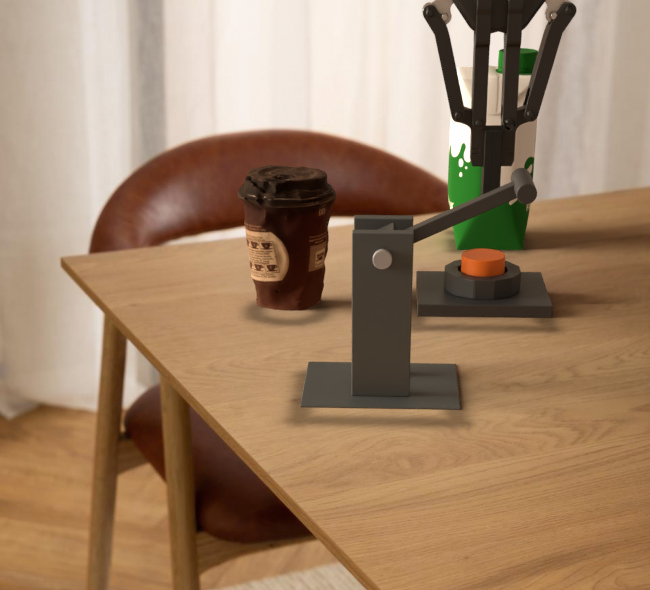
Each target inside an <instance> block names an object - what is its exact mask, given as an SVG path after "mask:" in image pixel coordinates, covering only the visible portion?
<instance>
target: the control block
mask: <svg viewBox="0 0 650 590" xmlns="http://www.w3.org/2000/svg"><path fill="white" fill-rule="evenodd" d="M415 302H416V317H417V318H419V317H420V318H423V317H425V318H426V317H427V318H496V319H497V318H500V319H501V318H504V319H505V318H506V319H552V318H553V308H554V306H553V304H552V300H551V297H550V295H549V292H548V289H547V286H546V283H545V280H544V277H543V274H542V272H541V271H522V270H521V268H520V266H519V265H517V264H516V263H513V262H510V261H508V260H505V271H504V274H503V275H498V276H492V277H480V276H471V275H466V274H464V273H462V272H461V259H457V260H453V261H451V262H449V263H447V264H445V265H444V270H416V271H415Z"/></svg>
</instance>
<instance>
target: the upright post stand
mask: <svg viewBox="0 0 650 590" xmlns="http://www.w3.org/2000/svg"><path fill="white" fill-rule="evenodd" d="M393 222H394V223H395V226H396V228H397V230H377V229H379V228H382V227H384V226H386V225H388V224H391V223H393ZM413 225H414V215H411V214H410V215H409V214H408V215H399V214H395V215H393V214H392V215H391V214H389V215H387V214H355V215H353V229H352V231H351V361H308V362H307V365H306V366H307V367H306V372H305V377H304V382H303V388H302V394H301V399H300V404H299V408H310V409H311V408H314V409H315V408H318V409H320V408H321V409H323V408H324V409H373V410H374V409H377V410H378V409H380V410H382V409H384V410H434V411H435V410H437V411H440V410H441V411H445V410H446V411H447V410H448V411H450V410H451V411H461V400H460V390H459V381H458V380H459V379H458V373H457V372H458V371H457V364H456V363H434V362H433V363H430V362H411V353H412V352H411V351H412V350H411V349H412V317H413V315H412V314H413V313H412V312H413V310H412V309H413V276H414V275H413V274H414V246H415V245H414V244H415V243H414V231H413V230H405V229H407V228H409V227H411V226H413Z"/></svg>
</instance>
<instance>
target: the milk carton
mask: <svg viewBox="0 0 650 590" xmlns="http://www.w3.org/2000/svg"><path fill="white" fill-rule="evenodd" d="M503 51H504V48H501V49H499V50H498V60H497V65H489V72H488V95H487V117H486V125H501V96H502V74H503ZM537 54H538V50H537V49H534V48H528V47H520V67H519V86H518V106H517V108H518V107H520V106H523V102H524V99H525V95H526V92H527V89H528V85H529V82H530V78H531V75H532V71H533V68H534V64H535V61H536V57H537ZM456 69H457V74H458V79H459V84H460V89H461V94H462V99H463V104H464V106H465V107H468V108H470V109H471V100H472V74H473V66H457V67H456ZM537 131H538V118H537V119H536V120H535V121H533V122H527V123H524V124H522V125H520V126H519V127H518V128H517V130H516V134H515V153H514V162H513V164H512V166H501V180H500V187H501V186H503V185H505V184H508V183H510V182H511V175H512V173H513V171H514V170H516V169H518V168H525V169H527V170H528V171H529V173H530V175H531V178H532V180H533V181H534V172H535V171H534V169H535V159H536V143H537V133H538V132H537ZM470 136H471V129H470V128H469V127H468V126H467V125H465V124H462V123H457V122H455V121H454V120H453V119H452V116H451V115H450V124H449V143H448V144H449V145H448V146H449V147H448V171H447V199H448V207H449V209H452V208H454V207H456V206H458V205H461V204H463V203H465V202H467V201H470V200H472V199H474V198H476V197H479V196H481V178H482V167H473V166H472V164H471V161H470ZM531 204H532V203H530V204H522V203H520V202H519V201H518V199H517V198H516V199H514V200H511V201H509V202H507V203H505V204H502V205H500V206H499V207H496V208H493V209H491V210H489V211H486V212H484V213H482V214H480V215H477V216H475V217H473V218H471V219H468V220H466V221H464V222H462V223H459V224H457V225H455V226H453V227H452V231H453V237H454V240H455V247H456V250H457V251H467V250H470V249H479V248H483V249H494V250H498V251H523V249H524V243H525V240H526V239H525V238H526V234H527V233H526V232H527V226H528V222H529V217H530V211H531Z"/></svg>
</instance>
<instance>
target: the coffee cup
mask: <svg viewBox="0 0 650 590" xmlns="http://www.w3.org/2000/svg"><path fill="white" fill-rule="evenodd" d="M237 197H238V199H240V200H241V201H242V202H243V211H244V221H243V224H244V229H245V239H246V247H247V254H248V259H249V260H248V261H249V268H250V276H251V279H252V282H253V284H254V286H255V287H254V288H255V293H256V299H255V300H256V305H257V306H258V307H260V308H263V309H270V310H274V311H288V312H289V311H290V312H293V311H297V312H298V311H305V310H308V309H311V308H313V307H315V306H317V305H318V304H319V303H320V302H321V301H322V295H323V291H324V287H325V275H326V264H325V261H326V258H327V255H328V251H329V241H330V240H329V239H330V238H329V225H330V224H329V223H330V220H331V216H332V208H333V206H334V204H335V201H336V200H337V193H336V191H335V189H334V187H333V186H332V185H331V184H330V183H328V174H327V172H326V171H325V170H322V169H320V168H313V167H306V166H287V165H275V164H269V165H263V166H259V167H254V168H251V169H248V170H247V176H245V179H244V182H243V184H242V185H241V186H240V187H239V189H238V192H237Z"/></svg>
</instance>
